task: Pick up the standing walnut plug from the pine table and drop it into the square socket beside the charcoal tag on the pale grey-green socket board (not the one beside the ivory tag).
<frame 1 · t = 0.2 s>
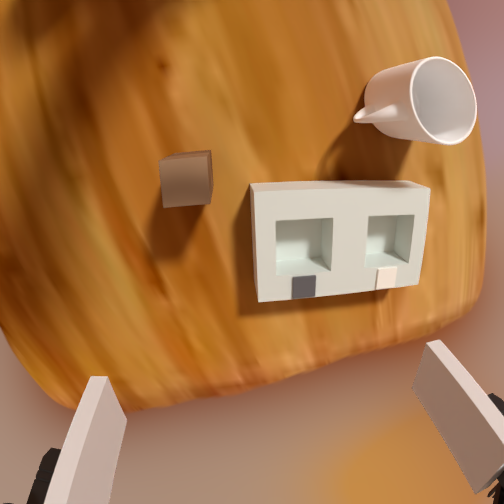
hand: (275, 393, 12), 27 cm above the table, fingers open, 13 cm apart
mug: (381, 107, 33), on the table
plug: (193, 169, 34), on the table
socket board: (335, 229, 38), on the table
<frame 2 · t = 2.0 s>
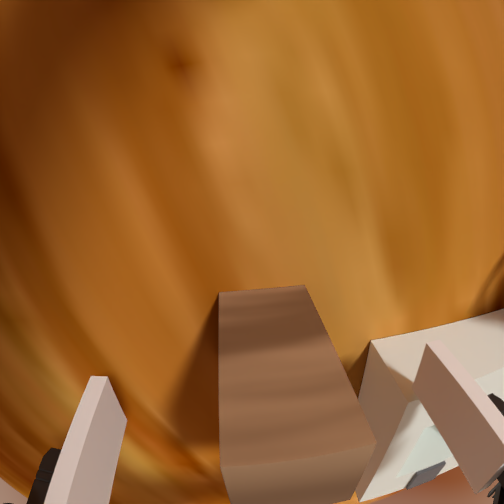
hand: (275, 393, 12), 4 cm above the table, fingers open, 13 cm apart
plug: (263, 324, 16), on the table
socket board: (467, 375, 20), on the table
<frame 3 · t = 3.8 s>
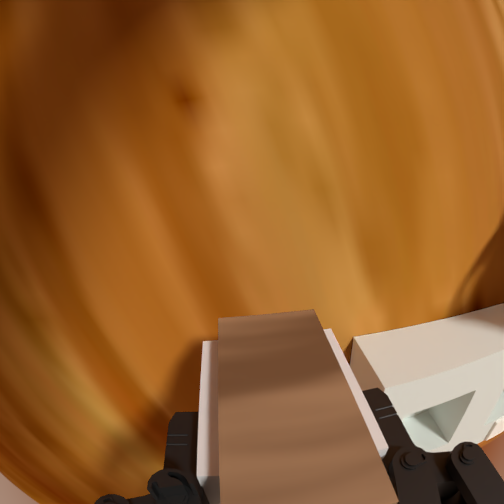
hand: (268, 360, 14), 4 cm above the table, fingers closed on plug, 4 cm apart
plug: (267, 351, 14), point 4 cm above the table, touching gripper
socket board: (450, 373, 22), on the table
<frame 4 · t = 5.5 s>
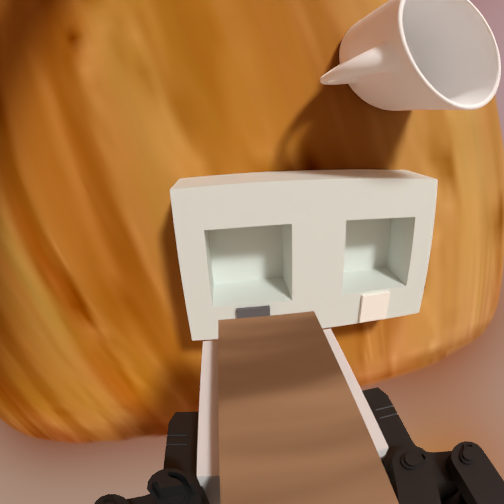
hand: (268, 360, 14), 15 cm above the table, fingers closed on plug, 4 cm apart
mug: (364, 69, 23), on the table
plug: (268, 352, 14), point 15 cm above the table, touching gripper
socket board: (303, 239, 28), on the table
when the fingers open (6 cm above the table, at t = 7.2 s): plug drops 5 cm, resting on socket board.
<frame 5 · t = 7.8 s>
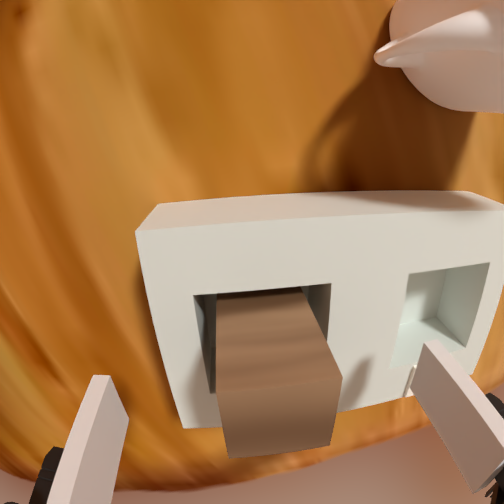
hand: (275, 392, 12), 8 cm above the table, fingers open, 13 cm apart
mug: (420, 52, 15), on the table
plug: (255, 300, 18), point 1 cm above the table, touching socket board
socket board: (335, 287, 20), on the table
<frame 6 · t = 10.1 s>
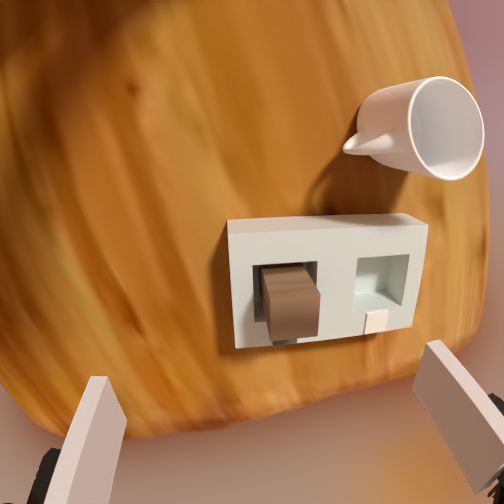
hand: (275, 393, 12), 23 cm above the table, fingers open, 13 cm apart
mug: (376, 131, 31), on the table
plug: (277, 273, 34), point 1 cm above the table, touching socket board
socket board: (321, 268, 35), on the table
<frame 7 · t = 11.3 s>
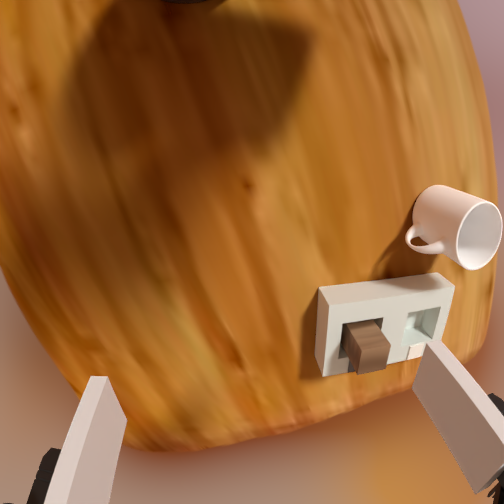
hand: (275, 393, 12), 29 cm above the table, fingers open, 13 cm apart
mug: (424, 216, 41), on the table
plug: (350, 321, 45), point 1 cm above the table, touching socket board
socket board: (378, 314, 46), on the table
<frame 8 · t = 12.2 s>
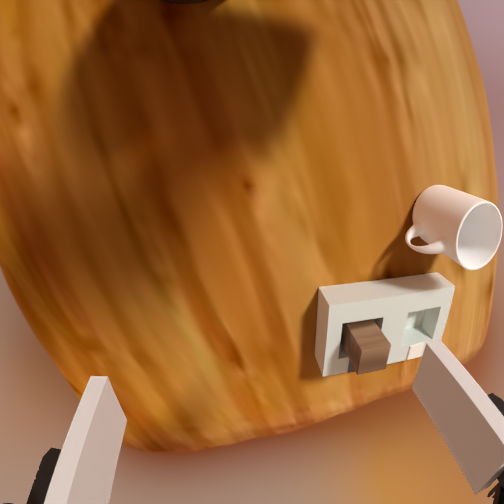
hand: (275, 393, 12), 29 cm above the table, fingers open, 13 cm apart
mug: (424, 216, 41), on the table
plug: (350, 321, 45), point 1 cm above the table, touching socket board
socket board: (378, 314, 46), on the table
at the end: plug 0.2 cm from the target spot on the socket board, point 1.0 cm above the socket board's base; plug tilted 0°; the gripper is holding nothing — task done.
